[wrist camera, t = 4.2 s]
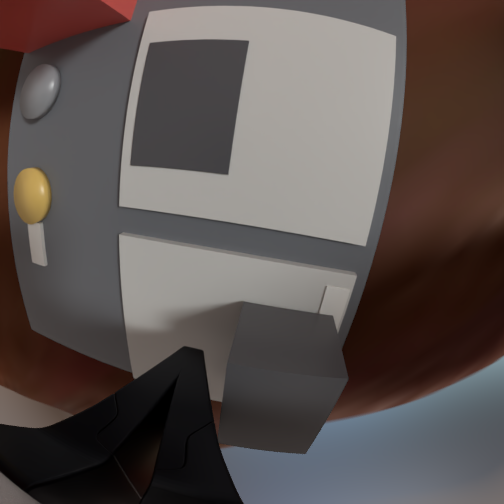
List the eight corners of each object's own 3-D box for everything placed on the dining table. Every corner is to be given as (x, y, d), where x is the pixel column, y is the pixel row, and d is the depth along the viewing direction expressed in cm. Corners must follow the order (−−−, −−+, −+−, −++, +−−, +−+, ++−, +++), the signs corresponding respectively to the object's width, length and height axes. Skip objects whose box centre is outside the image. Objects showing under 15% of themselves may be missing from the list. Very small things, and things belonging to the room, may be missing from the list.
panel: (387, -50, 5) (398, -71, 3) (312, 387, 12) (314, 417, 11) (81, -38, 6) (63, -50, 4) (45, 317, 13) (26, 333, 11)
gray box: (332, 315, 9) (348, 378, 6) (303, 394, 10) (305, 453, 7) (243, 301, 9) (226, 362, 6) (231, 383, 10) (217, 442, 8)
